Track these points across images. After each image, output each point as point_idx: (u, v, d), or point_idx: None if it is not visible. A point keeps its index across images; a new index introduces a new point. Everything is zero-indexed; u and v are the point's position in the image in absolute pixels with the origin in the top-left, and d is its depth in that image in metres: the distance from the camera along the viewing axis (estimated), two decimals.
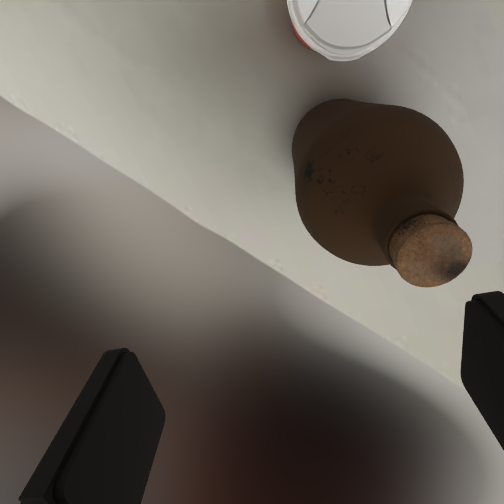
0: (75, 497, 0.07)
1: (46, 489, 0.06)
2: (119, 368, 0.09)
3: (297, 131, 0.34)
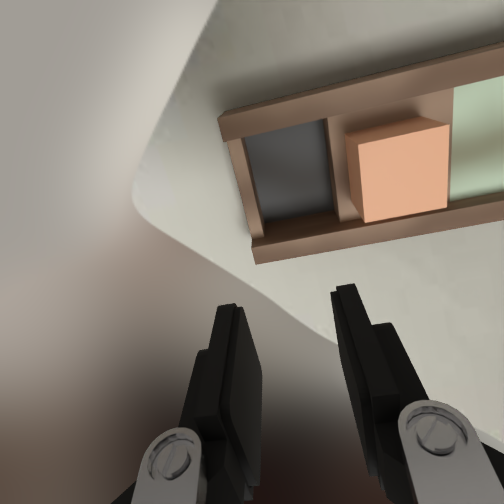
0: (235, 420, 0.07)
1: (215, 410, 0.07)
2: (237, 319, 0.10)
3: None
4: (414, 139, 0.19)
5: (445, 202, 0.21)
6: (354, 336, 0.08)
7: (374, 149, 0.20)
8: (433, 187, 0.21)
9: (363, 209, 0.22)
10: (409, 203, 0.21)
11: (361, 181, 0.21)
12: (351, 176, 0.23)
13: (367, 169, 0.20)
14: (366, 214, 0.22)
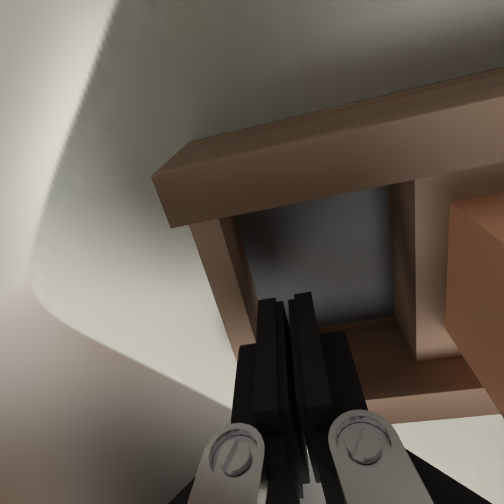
0: (292, 416, 0.07)
1: (274, 405, 0.07)
2: (281, 313, 0.09)
3: None
4: None
5: None
6: (301, 345, 0.08)
7: None
8: None
9: None
10: None
11: None
12: (460, 294, 0.11)
13: None
14: None
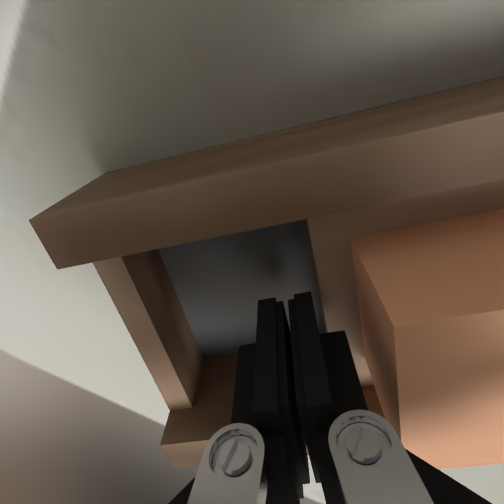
0: (292, 416, 0.07)
1: (274, 405, 0.07)
2: (281, 313, 0.09)
3: None
4: None
5: None
6: (301, 345, 0.08)
7: (441, 337, 0.07)
8: None
9: None
10: None
11: (398, 399, 0.08)
12: (366, 329, 0.11)
13: (417, 378, 0.07)
14: None
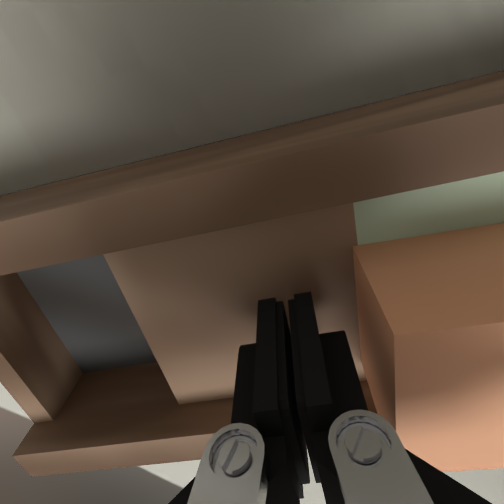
0: (292, 416, 0.07)
1: (274, 405, 0.07)
2: (281, 313, 0.09)
3: None
4: None
5: None
6: (301, 345, 0.08)
7: (439, 347, 0.07)
8: None
9: None
10: None
11: (395, 404, 0.08)
12: (365, 335, 0.11)
13: (414, 385, 0.08)
14: None
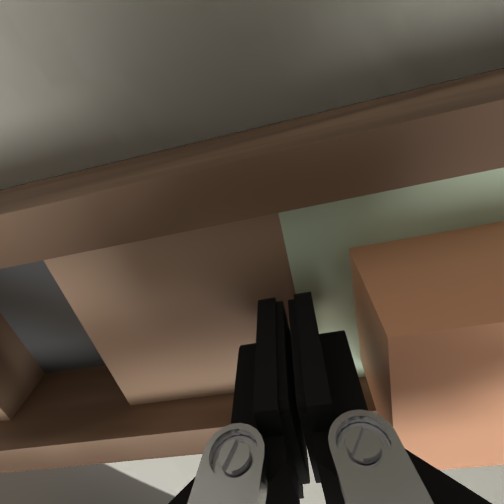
0: (292, 416, 0.07)
1: (274, 405, 0.07)
2: (281, 313, 0.09)
3: None
4: None
5: None
6: (301, 345, 0.08)
7: (432, 348, 0.07)
8: None
9: None
10: None
11: (392, 404, 0.08)
12: (363, 335, 0.11)
13: (409, 386, 0.08)
14: None
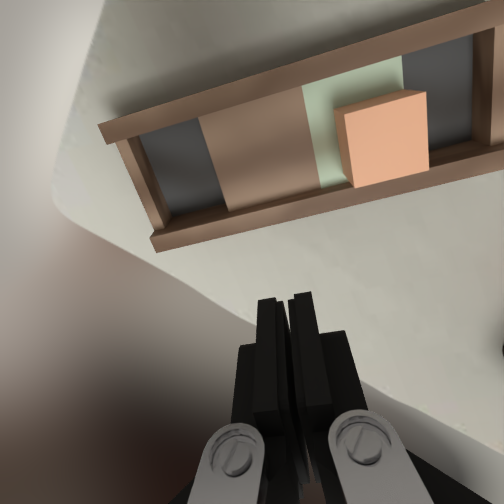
0: (292, 416, 0.07)
1: (274, 405, 0.07)
2: (281, 313, 0.09)
3: None
4: (395, 107, 0.21)
5: (427, 165, 0.23)
6: (301, 345, 0.08)
7: (359, 118, 0.22)
8: (415, 151, 0.22)
9: (352, 175, 0.23)
10: (394, 167, 0.23)
11: (349, 149, 0.23)
12: (341, 148, 0.25)
13: (354, 137, 0.22)
14: (355, 180, 0.23)
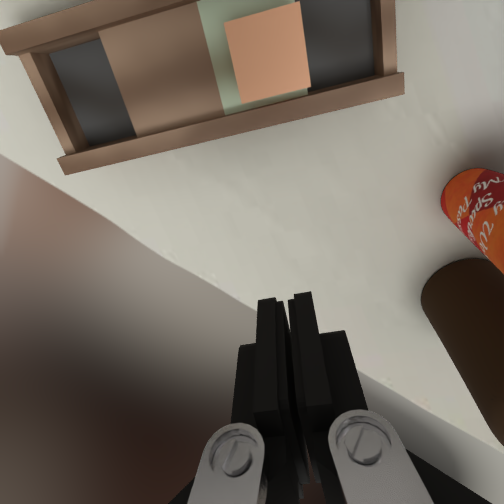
0: (292, 416, 0.07)
1: (274, 405, 0.07)
2: (281, 313, 0.09)
3: (437, 290, 0.36)
4: (271, 16, 0.22)
5: (309, 81, 0.24)
6: (301, 345, 0.08)
7: (238, 27, 0.22)
8: (296, 66, 0.23)
9: (239, 90, 0.24)
10: (277, 82, 0.24)
11: (232, 61, 0.23)
12: None
13: (235, 48, 0.23)
14: (241, 95, 0.24)
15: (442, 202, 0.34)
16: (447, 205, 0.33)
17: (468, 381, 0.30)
